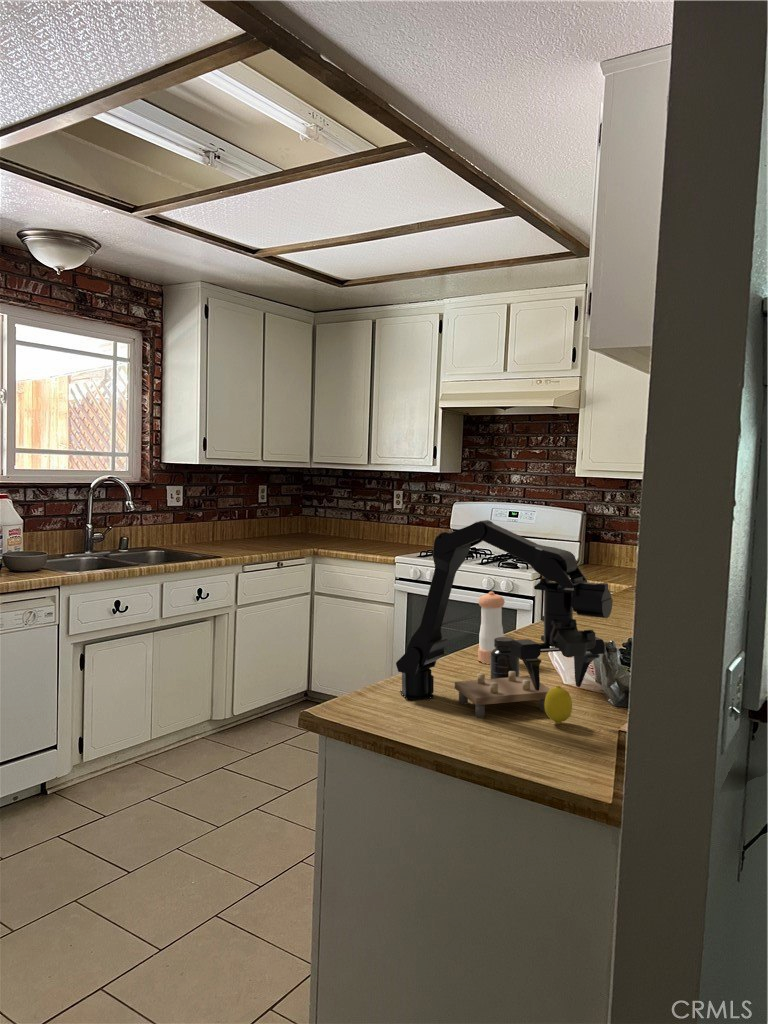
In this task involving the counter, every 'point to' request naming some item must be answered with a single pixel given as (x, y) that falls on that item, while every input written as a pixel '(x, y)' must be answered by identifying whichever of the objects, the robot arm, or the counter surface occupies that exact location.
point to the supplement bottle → (503, 659)
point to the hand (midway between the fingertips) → (557, 688)
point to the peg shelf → (499, 691)
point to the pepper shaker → (489, 624)
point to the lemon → (558, 704)
